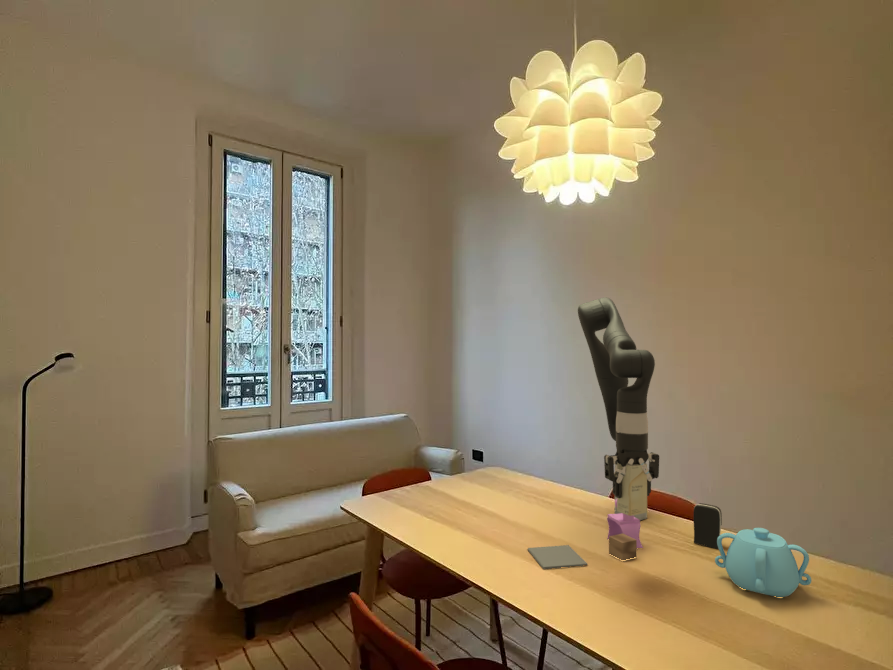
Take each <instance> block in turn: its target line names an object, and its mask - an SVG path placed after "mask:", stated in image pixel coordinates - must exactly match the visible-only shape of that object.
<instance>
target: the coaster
mask: <svg viewBox="0 0 893 670" xmlns="http://www.w3.org/2000/svg"><path fill="white" fill-rule="evenodd" d="M527 552H528V553H529V554H530V555H531V556H532V557H533V559H534V560H535V561H536V563H538V565H539V566H540V567H541V568H542V569H543V570H552V568H555V569H562V568H561V567H568V568H571V567H570V566H581V567H584V566H583V565H588V562H587V561H586V560H585V559H583V557H581V555H580V554H578V553H577V551H575V550H574V549H573V548H572V547H571V546H570V545H569V544H566V545H550V546H549V545H548V546H536V547H527ZM588 566H589V565H588Z"/></svg>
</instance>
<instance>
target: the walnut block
mask: <svg viewBox="0 0 893 670" xmlns="http://www.w3.org/2000/svg"><path fill="white" fill-rule="evenodd" d="M637 551H638V549H637V540H636V539H634V538H631V537H629V536H627V535H625V534H623V533H622V534H618V535H613V536H609V540H608V555H609V554H611V555H613V556H615V557H617V558H619V559H621V560H626V559H630V558H634V557H637V555H638V554H637ZM611 555H610V556H611ZM613 556H612V557H613ZM615 557H614V558H615Z"/></svg>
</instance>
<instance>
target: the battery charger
mask: <svg viewBox="0 0 893 670" xmlns="http://www.w3.org/2000/svg"><path fill="white" fill-rule="evenodd" d="M722 514H723V513H722V509H721V508H720V507H718V506H716V505H713V504H707V503H701V502H700V503H697V504H696V505H695V506H694V507H693V543H694V544H696V545H699V546H703V547H707V548H711V549H712V548H713V549H717V550H719V549H718V545H717V538H718V537H719V535H721V529H722V527H721V526H722V524H723V519H722V516H723V515H722Z"/></svg>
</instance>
